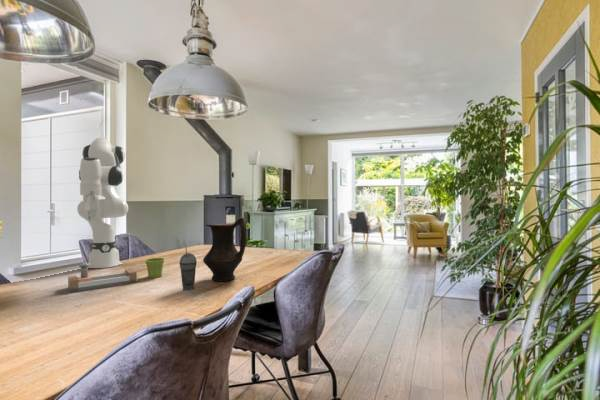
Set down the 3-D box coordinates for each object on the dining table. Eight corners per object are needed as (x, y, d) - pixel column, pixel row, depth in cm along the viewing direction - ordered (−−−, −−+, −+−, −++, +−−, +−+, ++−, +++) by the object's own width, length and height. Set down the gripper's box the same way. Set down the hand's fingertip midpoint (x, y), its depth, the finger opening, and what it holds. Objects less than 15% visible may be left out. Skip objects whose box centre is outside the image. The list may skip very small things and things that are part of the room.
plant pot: (151, 279, 166) (151, 262, 165) (141, 277, 171) (140, 259, 171) (168, 276, 173) (168, 259, 173) (158, 273, 179) (158, 257, 179)
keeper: (77, 283, 153) (76, 263, 153) (90, 281, 156) (89, 262, 156) (78, 286, 148) (78, 266, 148) (91, 284, 151) (91, 264, 151)
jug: (195, 283, 158) (194, 218, 157) (213, 274, 176) (212, 216, 176) (239, 285, 154) (238, 218, 154) (252, 275, 172) (251, 216, 172)
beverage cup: (191, 292, 144) (191, 244, 144) (176, 291, 145) (175, 244, 145) (200, 287, 151) (199, 242, 151) (185, 286, 152) (184, 241, 152)
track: (68, 287, 153) (68, 276, 153) (132, 278, 168) (131, 268, 168) (69, 292, 145) (69, 280, 145) (136, 282, 161) (136, 271, 160)
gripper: (101, 191, 157) (102, 221, 157) (95, 191, 173) (96, 219, 173) (85, 191, 153) (86, 222, 153) (81, 191, 169) (81, 219, 169)
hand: (91, 220), depth 163 cm, fingers open, 8 cm apart
